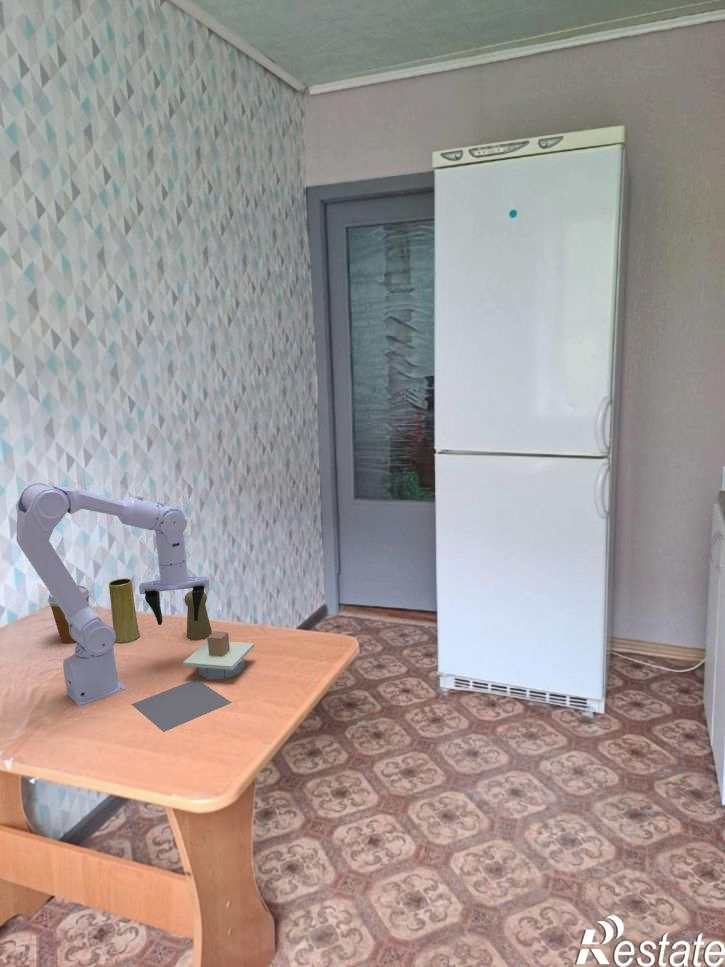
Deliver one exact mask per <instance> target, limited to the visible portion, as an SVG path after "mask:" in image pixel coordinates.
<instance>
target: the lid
mask: <svg viewBox="0 0 725 967" xmlns="http://www.w3.org/2000/svg"><path fill="white" fill-rule="evenodd" d="M206 639H207V641H206V642H204V643H203V644H202V645H201V646H200V647H199V648H197V650H195V651H194V652H193V653H192V654H191V655H190V656H189V657H188V658H186V659H185V660H184V661H182V662H183V663H182V664H183V667H192V668H198V667H202V668H214V669H226V670H233V669H234V668H235V667H236V666H237V664H238V663H239V662H240V661H241V660H242V659H243V658H244V659H245V657H246V656H248V654H249V653H250V652H251V651H252V650H253V649H254V648H255V643H253V642H241V641H240V642H239V641H230V636H229V632H228V631H216V630H215V631H212V634H211V635H210V636H209V637H207V638H206Z"/></svg>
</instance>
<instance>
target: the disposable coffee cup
mask: <svg viewBox="0 0 725 967" xmlns="http://www.w3.org/2000/svg"><path fill="white" fill-rule="evenodd" d="M77 586H78V587H79V589H80V590H81V592H82V594H83V595H84V597H85V598H86V600H87V601H88V603H89V604H90V602H89V598H90V595H91V592H90V591H89V589H88V587H87V586H86V585H77ZM47 603H48V604H49V605H50V609H51V611H52V615H53V618H54V623H55V624H56V628H57V632H58V635H59V639H60V642H61V641H62V642H61V643H63V642H65V643H64V644H72V643H73V642H75V643H77V642H76V641H75V640H73V639H72V637H71V636H70V633H69V624H68V622H67V620H66V619H65V614H64V613H63V611H62V610H61V608H60V607H59V605H58V604H57V602H56V601H55V599H54V598H53V596H52V595H51V593H50V592H49V594H48V598H47ZM73 644H74V643H73Z"/></svg>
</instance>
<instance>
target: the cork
mask: <svg viewBox="0 0 725 967" xmlns="http://www.w3.org/2000/svg"><path fill="white" fill-rule="evenodd" d="M207 600H208V597H207V593H206V592H205V591H204V594H203V596H202V599H201V602H200V606H199V611H198V621H194V604H193V597H192V590H191V591H188V592H187V593H186V594H185V596H184V603H185V605H186V606H187V612H186V613H187V616H186V617H187V618H186V622H187V623H186V638H188V640H189V639H190V641H201V639H202V640H205V638H206V639H207V637H209V636H210V635H211V634H212V633H213V631H212V627H211V622H210V619H209V618H210V617H209V615H208V610H207V606H206V603H207Z"/></svg>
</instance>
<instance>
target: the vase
mask: <svg viewBox="0 0 725 967" xmlns="http://www.w3.org/2000/svg"><path fill="white" fill-rule="evenodd" d="M132 582H133V581H132V579H130V578H117V579H114V580H111V581H109V582H108V590H109V591H108V592H109V598H110V599H109V600H110V607H111V608H110V609H111V619H112V628H113V629H114V631H115V634H116V639H115V643H118V644H119V643H120V644H125V643H130V642H133V641H136V640H137V639H139V638H140V637H141V633H140V631H139V625H138V618H137V612H136V605H135V604H136V603H135V598H134V590H133V589H134V588H133V584H132Z"/></svg>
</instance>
